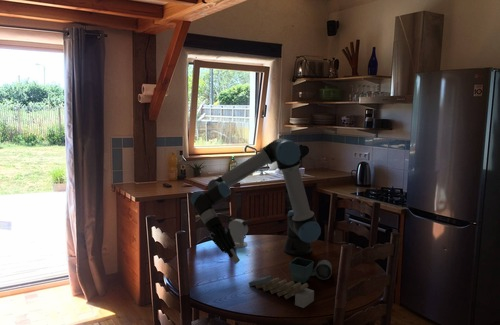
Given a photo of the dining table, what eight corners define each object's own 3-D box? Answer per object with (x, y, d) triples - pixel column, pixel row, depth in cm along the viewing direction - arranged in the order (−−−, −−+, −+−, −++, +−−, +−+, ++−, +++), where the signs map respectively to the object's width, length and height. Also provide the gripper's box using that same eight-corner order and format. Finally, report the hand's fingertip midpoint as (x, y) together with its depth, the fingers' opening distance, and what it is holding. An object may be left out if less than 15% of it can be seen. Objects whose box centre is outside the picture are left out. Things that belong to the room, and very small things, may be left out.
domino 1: (248, 282, 181) (264, 278, 175) (255, 279, 185) (271, 275, 179) (249, 286, 181) (266, 282, 175) (256, 282, 185) (272, 278, 179)
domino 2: (255, 285, 179) (272, 281, 173) (262, 281, 183) (278, 277, 177) (256, 288, 179) (273, 284, 173) (263, 285, 183) (280, 280, 177)
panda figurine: (252, 243, 238) (252, 218, 236) (241, 249, 228) (241, 223, 226) (234, 240, 244) (234, 215, 242) (223, 245, 234) (224, 220, 232)
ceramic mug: (332, 273, 196) (332, 258, 195) (331, 280, 188) (331, 264, 187) (309, 271, 199) (309, 256, 198) (308, 278, 191) (308, 262, 190)
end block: (294, 304, 165) (295, 294, 164) (305, 298, 171) (305, 287, 170) (303, 308, 162) (303, 297, 162) (313, 300, 168) (314, 290, 168)
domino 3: (262, 288, 177) (279, 282, 171) (269, 284, 180) (286, 279, 174) (263, 291, 176) (280, 286, 170) (270, 287, 180) (287, 282, 174)
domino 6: (283, 296, 170) (300, 286, 164) (290, 292, 174) (306, 282, 168) (285, 299, 169) (302, 290, 164) (292, 295, 173) (308, 286, 167)
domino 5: (276, 293, 172) (293, 285, 166) (283, 289, 176) (300, 281, 170) (278, 296, 171) (295, 289, 166) (285, 292, 175) (301, 285, 169)
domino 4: (269, 290, 174) (286, 284, 168) (276, 286, 178) (293, 280, 172) (271, 294, 174) (288, 288, 168) (278, 290, 178) (294, 284, 172)
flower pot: (305, 286, 182) (306, 267, 181) (288, 281, 187) (288, 262, 185) (313, 279, 189) (314, 261, 188) (296, 275, 194) (296, 257, 193)
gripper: (216, 221, 203) (242, 262, 195) (197, 227, 193) (223, 270, 185) (224, 213, 199) (250, 254, 191) (205, 218, 189) (232, 262, 181)
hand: (237, 262), depth 188 cm, fingers closed
